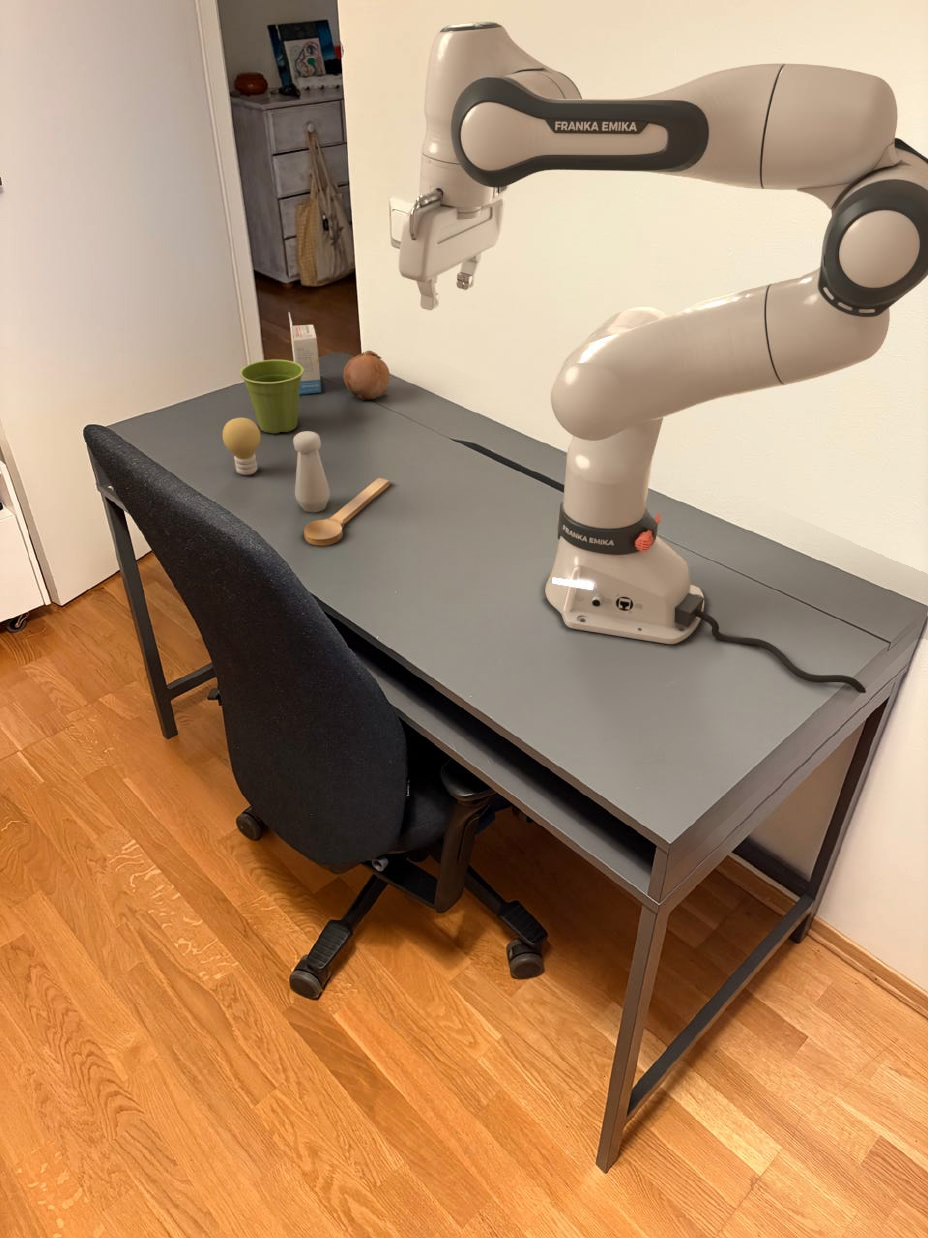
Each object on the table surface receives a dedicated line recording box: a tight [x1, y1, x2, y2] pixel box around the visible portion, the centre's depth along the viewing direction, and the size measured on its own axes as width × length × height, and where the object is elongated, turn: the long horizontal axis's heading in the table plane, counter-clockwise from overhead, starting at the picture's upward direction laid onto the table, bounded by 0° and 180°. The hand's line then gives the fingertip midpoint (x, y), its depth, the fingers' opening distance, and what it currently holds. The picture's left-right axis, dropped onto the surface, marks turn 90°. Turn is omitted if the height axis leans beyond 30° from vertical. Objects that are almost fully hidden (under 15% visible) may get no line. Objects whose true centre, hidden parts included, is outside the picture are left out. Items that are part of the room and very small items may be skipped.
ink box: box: [288, 311, 322, 395], centre depth 188 cm, size 8×5×15 cm, turn 13°
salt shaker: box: [292, 430, 331, 514], centre depth 148 cm, size 6×6×13 cm
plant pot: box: [239, 359, 304, 434], centre depth 174 cm, size 12×12×11 cm
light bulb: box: [222, 417, 262, 476], centre depth 159 cm, size 6×6×10 cm
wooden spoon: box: [303, 477, 391, 547], centre depth 150 cm, size 22×6×1 cm, turn 154°
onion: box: [342, 350, 391, 401], centre depth 186 cm, size 10×9×10 cm
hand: (447, 297), depth 117 cm, fingers open, 8 cm apart
